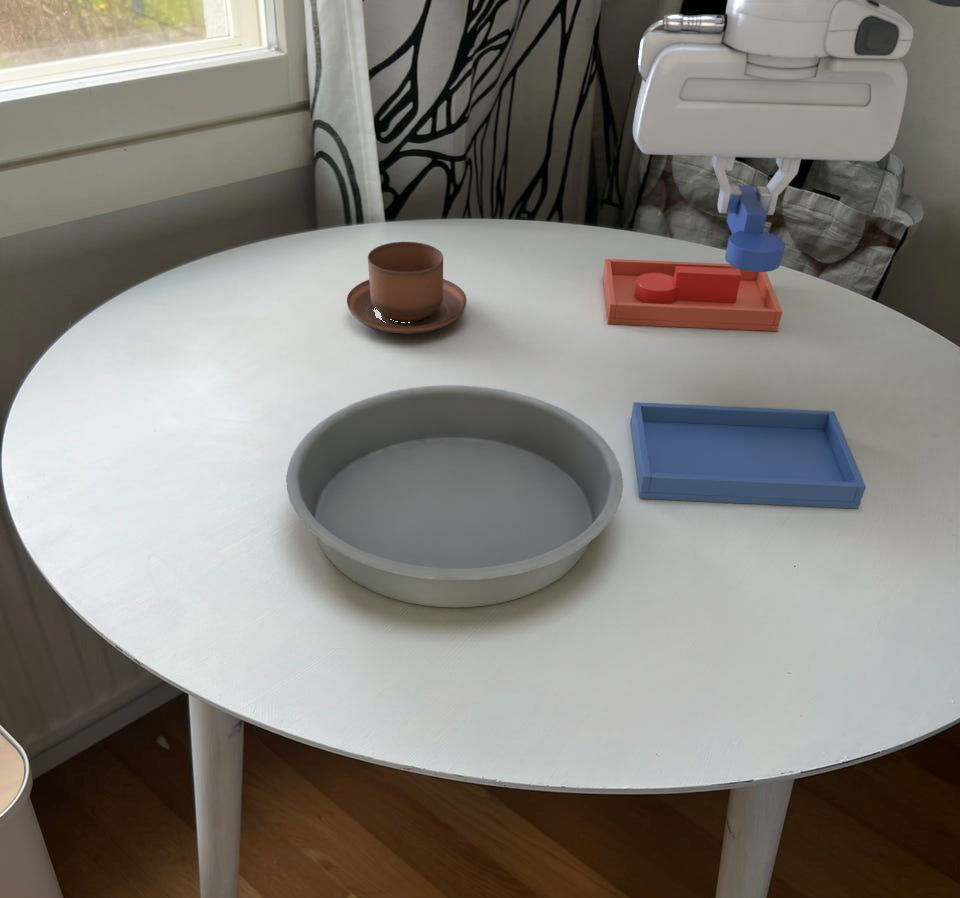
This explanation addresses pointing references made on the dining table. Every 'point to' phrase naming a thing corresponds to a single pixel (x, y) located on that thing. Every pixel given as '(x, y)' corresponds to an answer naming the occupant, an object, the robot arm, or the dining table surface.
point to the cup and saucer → (406, 290)
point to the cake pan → (454, 493)
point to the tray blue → (743, 456)
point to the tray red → (748, 313)
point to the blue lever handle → (752, 237)
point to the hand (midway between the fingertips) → (745, 212)
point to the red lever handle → (689, 285)
